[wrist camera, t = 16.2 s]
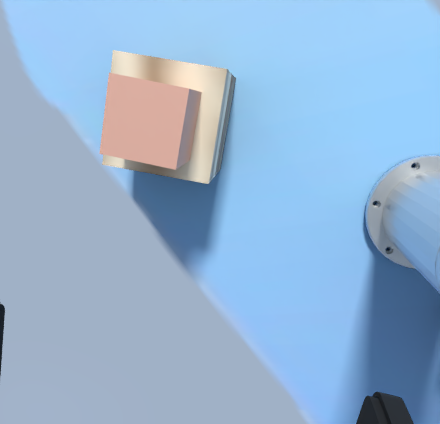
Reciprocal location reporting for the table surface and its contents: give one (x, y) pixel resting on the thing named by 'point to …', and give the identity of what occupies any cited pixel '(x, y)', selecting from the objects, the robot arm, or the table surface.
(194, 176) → the maple top block
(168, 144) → the terracotta cube
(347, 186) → the table surface
